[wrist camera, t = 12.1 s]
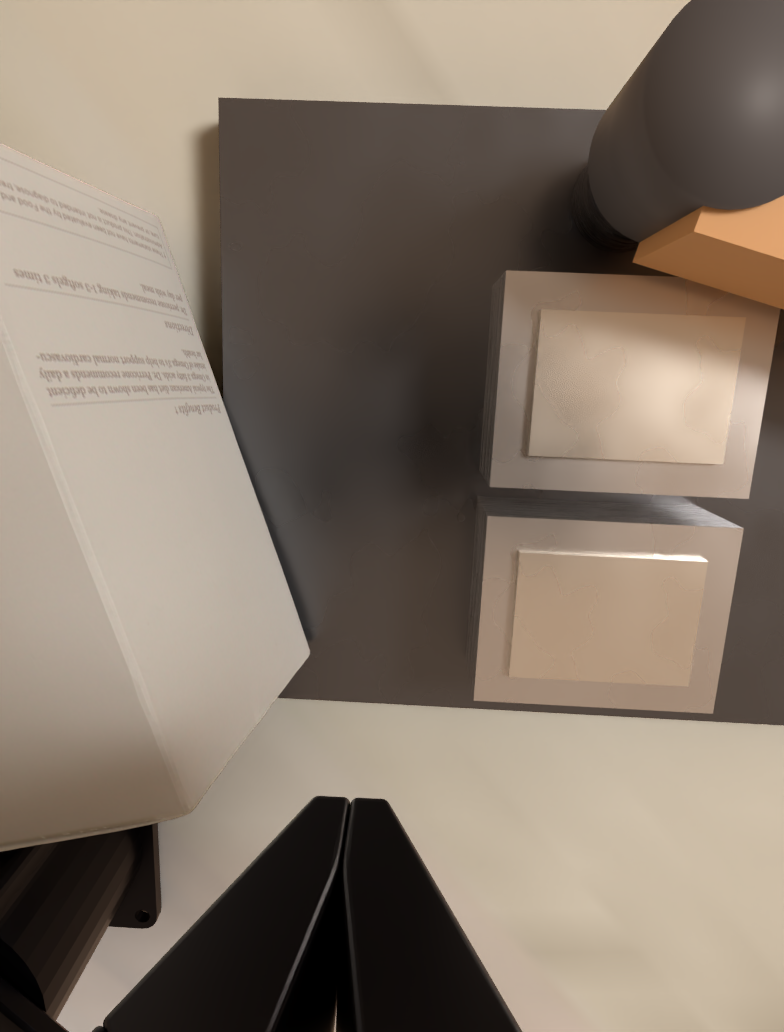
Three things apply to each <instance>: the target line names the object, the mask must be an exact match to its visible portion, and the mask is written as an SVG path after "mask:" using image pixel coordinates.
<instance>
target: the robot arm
mask: <svg viewBox="0 0 784 1032" xmlns="http://www.w3.org/2000/svg"><path fill="white" fill-rule="evenodd" d="M142 910H144V911H146V912H148V913H146V912H143V911H142ZM160 912H161V888H160V866H159V844H158V823H154V824H150V825H146V826H141V827H136V828H131V829H126V830H121V831H116V832H111V833H105V834H99V835H93V836H87V837H82V838H76V839H70V840H65V841H59V842H53V843H47V844H40V845H34V846H29V847H24V848H18V849H13V850H8V851H2V852H0V1032H69V1031H68V1030H66V1029H65V1028H64V1027H63V1026H62V1025H60V1024H59V1023H58V1022H57V1021H56V1020H57V1018H58V1016H59V1014H60V1012H61V1011H62V1009H63V1007H64V1005H65V1003H66V1001H67V1000H68V998H69V996H70V994H71V992H72V991H73V989H74V987H75V985H76V983H77V982H78V980H79V978H80V976H81V974H82V973H83V971H84V969H85V967H86V965H87V963H88V962H89V960H90V958H91V956H92V954H93V953H94V951H95V949H96V947H97V945H98V944H99V942H100V940H101V938H102V936H103V935H104V933H105V931H106V929H107V927H108V926H112V927H128V928H149V927H151V926H153V925H154V924H155V922H156V921H157V919H158V916H159V914H160ZM336 1008H337V1015H336ZM335 1016H336V1032H522V1030H521V1029H520V1027H519V1025H518V1024H517V1022H516V1020H515V1018H514V1017H513V1015H512V1013H511V1012H510V1010H509V1008H508V1006H507V1005H506V1003H505V1001H504V1000H503V998H502V996H501V994H500V993H499V991H498V989H497V988H496V986H495V984H494V982H493V981H492V979H491V977H490V976H489V974H488V972H487V970H486V969H485V967H484V965H483V964H482V962H481V960H480V958H479V957H478V955H477V953H476V952H475V950H474V948H473V946H472V945H471V943H470V941H469V940H468V938H467V936H466V934H465V933H464V931H463V929H462V928H461V926H460V924H459V922H458V921H457V919H456V917H455V916H454V914H453V912H452V910H451V909H450V907H449V905H448V904H447V902H446V900H445V898H444V897H443V895H442V893H441V892H440V890H439V888H438V886H437V885H436V883H435V881H434V880H433V878H432V876H431V874H430V873H429V871H428V869H427V868H426V866H425V864H424V862H423V861H422V859H421V857H420V856H419V854H418V852H417V850H416V849H415V847H414V845H413V844H412V842H411V840H410V838H409V837H408V835H407V833H406V832H405V830H404V828H403V826H402V825H401V823H400V821H399V820H398V818H397V816H396V814H395V813H394V811H393V809H392V808H391V806H390V804H389V803H388V802H387V801H386V800H385V799H370V798H355V799H354V800H352V802H351V805H350V801H349V800H348V799H347V798H345V797H327V796H316V797H314V798H313V799H312V800H311V801H310V802H309V803H308V804H307V805H306V806H305V807H304V808H303V809H302V810H301V811H300V812H299V813H298V814H297V815H296V817H295V818H294V819H293V820H292V821H291V822H290V823H289V824H288V825H287V826H286V827H285V828H284V829H283V830H282V831H281V832H280V833H279V835H278V836H277V837H276V838H275V839H274V840H273V841H272V842H271V843H270V844H269V845H268V846H267V847H266V848H265V849H264V850H263V851H262V853H261V854H260V855H259V856H258V857H257V858H256V859H255V860H254V861H253V862H252V863H251V864H250V865H249V866H248V867H247V868H246V869H245V871H244V872H243V873H242V874H241V875H240V876H239V877H238V878H237V879H236V880H235V881H234V882H233V883H232V884H231V885H230V886H229V887H228V889H227V890H226V891H225V892H224V893H223V894H222V895H221V896H220V897H219V898H218V899H217V900H216V901H215V902H214V903H213V904H212V905H211V907H210V908H209V909H208V910H207V911H206V912H205V913H204V914H203V915H202V916H201V917H200V918H199V919H198V920H197V921H196V922H195V923H194V925H193V926H192V927H191V928H190V929H189V930H188V931H187V932H186V933H185V934H184V935H183V936H182V937H181V938H180V939H179V940H178V941H177V943H176V944H175V945H174V946H173V947H172V948H171V949H170V950H169V951H168V952H167V953H166V954H165V955H164V956H163V957H162V958H161V959H160V961H159V962H158V963H157V964H156V965H155V966H154V967H153V968H152V969H151V970H150V971H149V972H148V973H147V974H146V975H145V976H144V977H143V979H142V980H141V981H140V982H139V983H138V984H137V985H136V986H135V987H134V988H133V989H132V990H131V991H130V992H129V993H128V994H127V995H126V997H125V998H124V999H123V1000H122V1001H121V1002H120V1003H119V1004H118V1005H117V1006H116V1007H115V1008H114V1009H113V1010H112V1011H111V1012H110V1013H109V1015H108V1016H107V1017H106V1018H105V1020H104V1022H103V1027H102V1026H98V1027H96V1028H95V1029H94V1030H93V1031H92V1032H334V1025H335Z"/></svg>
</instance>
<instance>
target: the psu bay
mask: <svg viewBox="0 0 784 1032" xmlns="http://www.w3.org/2000/svg"><path fill="white" fill-rule="evenodd" d="M605 112H606V110H585V109H554V108H523V107H491V106H460V105H429V104H398V103H367V102H335V101H304V100H273V99H242V98H219V158H220V219H221V280H222V340H223V401H224V406H225V409H226V412H227V415H228V418H229V421H230V423H231V426H232V429H233V432H234V435H235V438H236V441H237V444H238V446H239V449H240V452H241V455H242V458H243V460H244V463H245V466H246V469H247V472H248V474H249V477H250V480H251V483H252V486H253V488H254V491H255V494H256V497H257V500H258V502H259V505H260V508H261V511H262V513H263V516H264V519H265V522H266V525H267V527H268V530H269V533H270V536H271V539H272V542H273V545H274V548H275V550H276V553H277V556H278V559H279V561H280V564H281V567H282V570H283V573H284V576H285V578H286V581H287V584H288V587H289V590H290V593H291V596H292V599H293V602H294V605H295V607H296V610H297V613H298V616H299V619H300V622H301V625H302V628H303V631H304V634H305V637H306V640H307V643H308V646H309V649H310V655H309V657H308V658H307V659H306V661H305V662H304V663H303V665H302V666H301V667H300V668H299V670H298V671H297V672H296V673H295V675H294V676H293V677H292V679H291V680H290V681H289V683H288V684H287V685H286V687H285V688H284V689H283V691H282V692H281V693H280V695H279V696H278V697H277V698H293V699H312V700H330V701H348V702H366V703H385V704H403V705H421V706H440V707H458V708H476V709H494V710H513V711H531V712H549V713H568V714H586V715H604V716H622V717H641V718H659V719H677V720H696V721H714V722H732V723H751V724H769V725H784V309H781V308H777V307H774V306H771V305H768V304H765V303H761V302H758V301H755V300H752V299H749V298H745V297H742V296H739V295H736V294H732V293H729V292H726V291H723V290H720V289H716V288H713V287H710V286H707V285H704V284H700V283H697V282H694V281H691V280H688V279H684V278H681V277H678V276H675V275H671V274H668V273H665V272H662V271H659V270H655V269H652V268H649V267H646V266H643V265H639V264H636V263H633V259H634V256H635V254H636V251H637V248H638V245H639V242H637V241H634V240H632V239H629V238H628V237H626V236H624V235H622V234H621V233H620V232H618V231H617V230H616V229H615V228H613V227H612V226H611V225H610V224H609V222H608V221H607V220H606V219H605V218H604V216H603V215H602V214H601V212H600V210H599V208H598V207H597V205H596V203H595V200H594V197H593V195H592V192H591V187H590V183H589V174H588V159H589V152H590V146H591V142H592V139H593V136H594V133H595V130H596V128H597V126H598V124H599V122H600V120H601V118H602V116H603V115H604V113H605Z"/></svg>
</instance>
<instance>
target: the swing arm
mask: <svg viewBox="0 0 784 1032" xmlns="http://www.w3.org/2000/svg"><path fill="white" fill-rule="evenodd" d="M588 174H589V183H590V187H591V192H592V195H593V197H594V200H595V203H596V205H597V207H598V208H599V210H600V212H601V214H602V215H603V216H604V218H605V219H606V220H607V221H608V222H609V224H610V225H611V226H612V227H613V228H615V229H616V230H617V231H618V232H620V233H621V234H622V235H624V236H626V237H628V238H629V239H632V240H634V241H637V242H639V245H638V248H637V251H636V254H635V256H634V259H633V263H636V264H639V265H643V266H646V267H649V268H652V269H655V270H659V271H662V272H665V273H668V274H671V275H675V276H678V277H681V278H684V279H688V280H691V281H694V282H697V283H700V284H704V285H707V286H710V287H713V288H716V289H720V290H723V291H726V292H729V293H732V294H736V295H739V296H742V297H745V298H749V299H752V300H755V301H758V302H761V303H765V304H768V305H771V306H774V307H777V308H781V309H784V0H691V1H690V2H689V3H688V4H687V5H685V6H684V7H683V9H682V10H681V11H680V12H679V13H678V14H677V15H676V16H675V18H674V19H673V20H672V21H671V23H670V24H669V26H668V27H667V28H666V30H665V31H664V32H663V34H662V35H661V36H660V38H659V39H658V41H657V42H656V43H655V45H654V46H653V47H652V49H651V50H650V51H649V53H648V54H647V56H646V57H645V58H644V60H643V61H642V62H641V64H640V65H639V66H638V68H637V69H636V71H635V72H634V73H633V75H632V76H631V77H630V79H629V80H628V81H627V83H626V84H625V86H624V87H623V88H622V90H621V91H620V92H619V94H618V95H617V96H616V98H615V99H614V101H613V102H612V103H611V105H610V106H609V107H608V109H607V110H606V112H605V113H604V115H603V116H602V118H601V120H600V122H599V124H598V126H597V128H596V130H595V133H594V136H593V139H592V142H591V146H590V152H589V159H588Z"/></svg>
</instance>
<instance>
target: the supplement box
mask: <svg viewBox="0 0 784 1032" xmlns="http://www.w3.org/2000/svg"><path fill="white" fill-rule="evenodd" d="M309 655H310V649H309V646H308V643H307V640H306V637H305V634H304V631H303V628H302V625H301V622H300V619H299V616H298V613H297V610H296V607H295V605H294V602H293V599H292V596H291V593H290V590H289V587H288V584H287V581H286V578H285V576H284V573H283V570H282V567H281V564H280V561H279V559H278V556H277V553H276V550H275V548H274V545H273V542H272V539H271V536H270V533H269V530H268V527H267V525H266V522H265V519H264V516H263V513H262V511H261V508H260V505H259V502H258V500H257V497H256V494H255V491H254V488H253V486H252V483H251V480H250V477H249V474H248V472H247V469H246V466H245V463H244V460H243V458H242V455H241V452H240V449H239V446H238V444H237V441H236V438H235V435H234V432H233V429H232V426H231V423H230V421H229V418H228V415H227V412H226V409H225V406H224V403H223V401H222V398H221V395H220V392H219V389H218V386H217V384H216V381H215V378H214V375H213V372H212V369H211V366H210V364H209V361H208V358H207V355H206V352H205V350H204V347H203V344H202V341H201V338H200V336H199V333H198V330H197V327H196V324H195V321H194V318H193V315H192V311H191V308H190V306H189V303H188V300H187V297H186V294H185V291H184V288H183V286H182V283H181V280H180V277H179V274H178V271H177V268H176V266H175V263H174V260H173V257H172V254H171V251H170V249H169V246H168V243H167V240H166V237H165V234H164V230H163V227H162V224H161V221H160V219H159V217H158V216H156V215H155V214H153V213H151V212H148V211H146V210H144V209H141V208H139V207H137V206H135V205H132V204H130V203H128V202H126V201H123V200H121V199H119V198H117V197H115V196H113V195H111V194H109V193H107V192H104V191H102V190H100V189H98V188H96V187H94V186H91V185H89V184H87V183H85V182H83V181H81V180H78V179H76V178H74V177H72V176H70V175H68V174H65V173H63V172H61V171H59V170H57V169H55V168H53V167H50V166H48V165H46V164H44V163H42V162H40V161H37V160H35V159H33V158H31V157H29V156H27V155H25V154H23V153H21V152H19V151H17V150H14V149H12V148H10V147H8V146H6V145H4V144H2V143H0V852H2V851H8V850H13V849H18V848H24V847H29V846H34V845H40V844H47V843H53V842H59V841H65V840H70V839H76V838H82V837H87V836H93V835H99V834H105V833H111V832H116V831H121V830H126V829H131V828H136V827H141V826H146V825H150V824H154V823H158V822H162V821H166V820H170V819H174V818H178V817H181V816H184V815H187V814H189V813H190V812H192V811H193V810H194V808H195V807H196V806H197V805H198V803H199V802H200V800H201V799H202V797H203V796H204V794H205V793H206V791H207V790H208V789H209V787H210V786H211V785H212V783H213V782H214V781H215V780H216V778H217V777H218V776H219V774H220V773H221V772H222V770H223V769H224V767H225V766H226V765H227V763H228V762H229V760H230V759H231V758H232V756H233V755H234V754H235V752H236V751H237V750H238V748H239V747H240V746H241V745H242V743H243V742H244V741H245V740H246V738H247V737H248V736H249V734H250V733H251V732H252V730H253V729H254V728H255V726H256V725H257V724H258V723H259V722H260V721H261V719H262V718H263V717H264V715H265V714H266V713H267V711H268V709H269V708H270V706H271V705H272V704H273V702H274V701H275V700H276V698H277V697H278V696H279V695H280V693H281V692H282V691H283V689H284V688H285V687H286V685H287V684H288V683H289V681H290V680H291V679H292V677H293V676H294V675H295V673H296V672H297V671H298V670H299V668H300V667H301V666H302V665H303V663H304V662H305V661H306V659H307V658H308V657H309Z"/></svg>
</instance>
